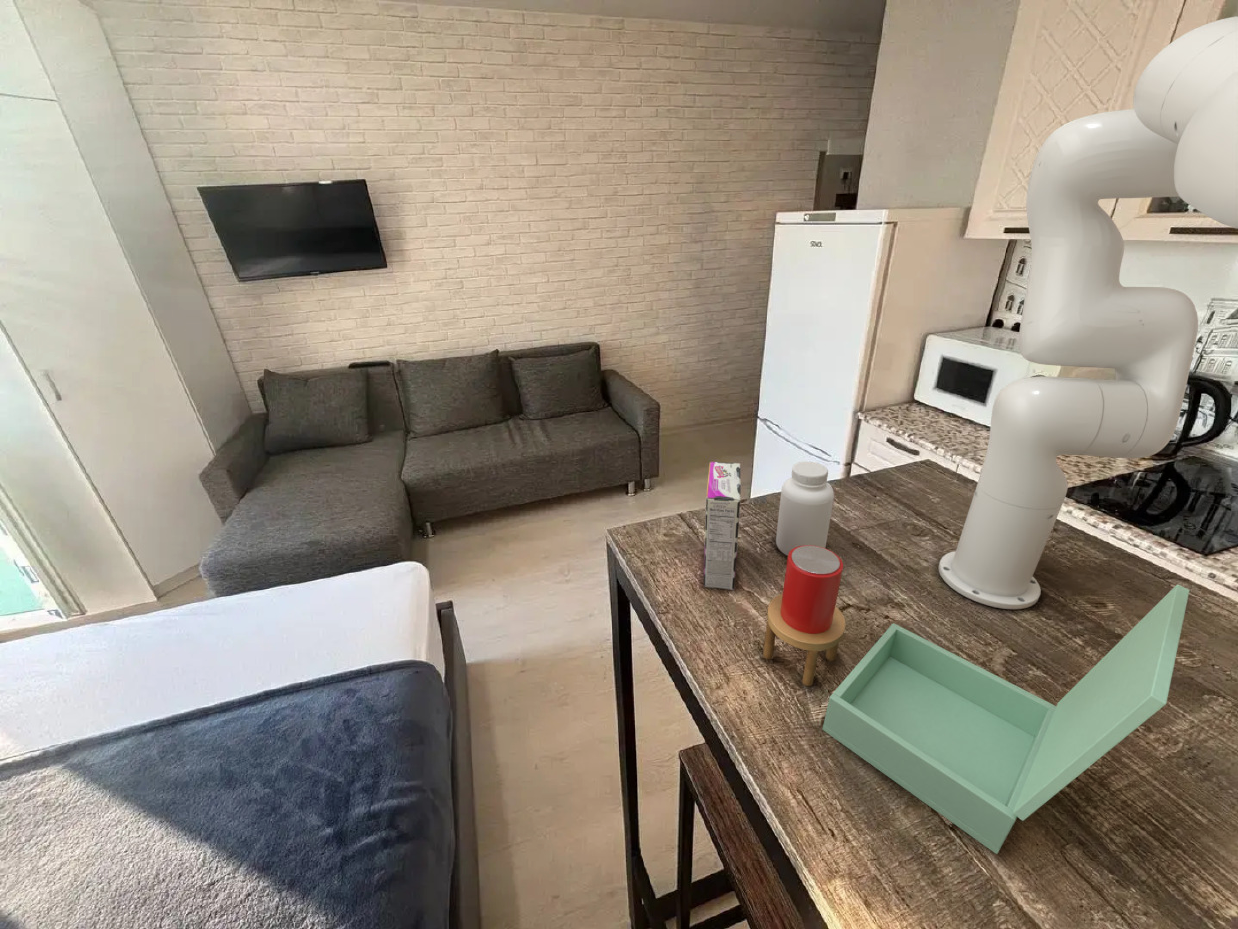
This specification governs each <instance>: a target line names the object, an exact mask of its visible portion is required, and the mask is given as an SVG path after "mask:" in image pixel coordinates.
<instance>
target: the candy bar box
mask: <svg viewBox="0 0 1238 929" xmlns="http://www.w3.org/2000/svg"><path fill="white" fill-rule="evenodd" d="M741 479H742V478H741V463H740V462H739V463H737V462H719V461H710V462H709V464H708V475H707V485H706V494H705V495H706V496H705V501H706V502H705V522H704V523H705V524H704V554H703V555H704V556H703V558H704V559H703V587H704V588H707V589H714V590H715V589H716V590H726V591H735V587H736V586H735V584H736V572H737V560H738V559H737V558H738V543H739V527H740V526H739V525H740V510H741V492H742V490H741V489H742V488H741V487H742V486H741V485H742V483H741Z"/></svg>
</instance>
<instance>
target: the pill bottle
mask: <svg viewBox="0 0 1238 929" xmlns="http://www.w3.org/2000/svg"><path fill="white" fill-rule="evenodd" d="M828 476H829V469H828V468H827V467H826V466H825V465H823V464H821V463H819V462H814V461H800V462H796V463H795V464H793V465H792V468H791V477H789V478H788V479H786V480H785V481H784V482H783V484H782V486H781V491H780V500H779V509H778V518H777V528H776V535H775V536H776V537H775V544H776V547H777V549H778V550H779V551H780V552H781V553H782V554H783V555H785V556H787V557H788V554H789V552H790V551H791V550H792V549H793V548H795V547H798V546H803V545H813V546H819V547H823V548H826V546H827V541H828V536H829V535H828V534H829V528H830V522H831V516H832V510H833V504H834V500H835V499H834V498H835V493H834V488H833V487H832V485H831V484H830V483H829V482H828Z"/></svg>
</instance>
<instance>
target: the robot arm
mask: <svg viewBox="0 0 1238 929" xmlns="http://www.w3.org/2000/svg"><path fill="white" fill-rule="evenodd" d="M1132 101H1133V108H1130V109H1129V108H1127V109H1118V110H1112V111H1104V112H1100V113H1094V114H1089V115H1085V116H1082V117H1079V118H1076V119H1074V120H1072V121H1069V122H1067V123H1065V124H1063V125H1061V126H1060V127H1058V128H1057V129H1055V130H1054V131H1053V132H1052V133H1050V135H1048V137H1047V138H1046V139H1045V141H1044V142H1043V143H1042V145H1041V147H1040V148H1039V150H1038V152H1037V154H1036V156H1035V159H1034V161H1033V165H1032V167H1031V170H1030V174H1029V178H1028V184H1027V188H1026V189H1027V190H1026V198H1025V199H1026V201H1025V205H1026V218H1027V225H1028V231H1029V237H1030V246H1031V247H1030V248H1031V255H1030V256H1031V257H1030V266H1029V271H1028V276H1027V281H1026V282H1027V283H1026V287H1025V288H1026V289H1025V294H1024V300H1023V307H1022V313H1021V319H1020V324H1019V325H1020V326H1019V332H1018V347H1019V352H1020V354H1021V356H1022V358H1024V359H1025V360H1026V361H1028V362H1030V363H1034V364H1038V365H1045V366H1056V367H1057V366H1060V367H1076V368H1077V367H1078V368H1098V369H1099V368H1100V369H1113V370H1114V372H1115V379H1107V378H1105V379H1103V378H1091V377H1072V376H1071V377H1070V376H1049V375H1047V376H1029V377H1023V378H1019V379H1016V380H1013V381H1011V382H1009V383H1007V384H1006V385H1005V386H1003V387H1002V388H1001V389H1000V390H999V391H998V393H997V395H996V397H995V399H994V401H993V405H992V410H991V418H990V429H989V436H988V443H987V449H986V453H985V456H984V461H983V464H982V468H981V470H980V474H979V477H978V480H977V483H976V487H975V490H974V493H973V496H972V500H971V502H970V506H969V509H968V511H967V515H966V518H965V522H964V525H963V527H962V531H961V534H960V537H959V540H958V544H957V546H956V550H954V551H950V552H948V553H946V554H944V555H943V556H942V557H941V558H940V560H939V564H938V573H939V576H940V577H941V578H942V580H943V581H944V583H946V584H947V585H948V586H949V587H950V588H951V589H952V590H954V591H955V592H956V593H958V594H960V595H962V596H963V597H965V598H967V599H969V600H972V601H974V602H977V603H978V604H982V605H985V606H989V607H991V608H998V609H1001V610H1002V609H1003V610H1022V609H1026V608H1030V607H1032V606H1034V605H1035V604H1036V603H1037V602H1038V601H1039V598H1040V596H1041V594H1042V593H1041V591H1042V588H1041V586H1040V584H1039V582H1038V581H1037V579H1036V578H1035V577H1034V574H1035V572H1036V569H1037V567H1038V564H1039V562H1040V559H1041V557H1042V555H1043V552H1044V550H1045V547H1046V544H1047V542H1048V540H1049V538H1050V535H1051V533H1052V531H1053V528H1054V526H1055V523H1056V521H1057V518H1058V516H1059V514H1060V511H1061V509H1062V507H1063V505H1064V501H1065V499H1066V497H1067V493H1068V489H1069V488H1068V487H1069V486H1068V484H1069V483H1068V479H1067V477H1066V474H1065V473H1064V471H1063V470H1062V468H1061V467H1060V465H1059V464H1058V462H1057V457H1058V456H1062V455H1063V456H1064V455H1065V456H1066V455H1067V456H1090V457H1102V458H1112V459H1113V458H1115V459H1129V460H1130V459H1143V458H1147V457H1151V456H1153V455H1156V454H1158V453H1159V452H1160V451H1162V450H1163V449H1164V448H1165V447H1166V446H1167V445H1168V444H1169V442H1170V441H1171V439H1172V437H1173V436H1174V433H1175V431H1176V428H1177V426H1178V423H1179V420H1180V416H1181V412H1182V407H1183V402H1184V397H1185V393H1186V389H1187V384H1188V380H1189V375H1190V370H1191V365H1192V361H1193V357H1194V352H1195V347H1196V342H1197V336H1198V329H1199V317H1198V316H1199V315H1198V311H1197V309H1196V306H1195V304H1194V302H1193V301H1192V299H1191V298H1190V297H1189V296H1188V295H1187V294H1186V293H1184V292H1182V291H1180V290H1178V289H1175V288H1169V287H1163V286H1123V285H1122V284H1121V281H1120V273H1121V267H1122V263H1123V258H1124V253H1125V242H1124V238H1123V236H1122V234H1121V231H1120V230H1119V228H1118V226H1117V225H1116V222H1114V220H1113V218H1112V217H1111V216H1110V215H1109V214H1108V213H1107V212H1106V211H1105V210H1104V209H1103V208H1102V207H1101V206H1100V205H1099V201H1101V200H1109V199H1146V198H1147V199H1148V198H1149V199H1150V198H1175V197H1177V198H1178V197H1179V198H1180V199H1181V200H1182V201H1183V202H1185V203H1186V204H1188V205H1189V206H1190V207H1192V208H1193V209H1195V210H1197V211H1199V212H1200V213H1201V214H1203V215H1205V216H1206V217H1208V218H1210V219H1211V220H1214V221H1215V222H1218V223H1220V224H1222V225H1225V226H1227V227H1231V228H1234V229H1237V230H1238V16H1236V15H1235V16H1232V17H1226V18H1221V19H1219V20H1215V21H1211V22H1208V23H1206V24H1203V25H1201V26H1198V27H1195V28H1193V29H1192V30H1189V31H1188V32H1185V33H1184V34H1183V35H1181V36H1180V37H1178V38H1176V39H1175V40H1173V41H1172V42H1170V43H1169V44H1168V45H1166V46H1165V47H1164V48H1162V49H1161V50H1160V51H1159V52H1158V53H1157V54H1156V55H1155V56H1154V57H1153V58H1152V59H1151V61H1150V62H1149V63H1148V64H1147V65H1146V67H1145V68H1144V69H1143V71H1142V72H1141V74H1140V76H1139V77H1138V80H1137V82H1136V84H1135V87H1134V91H1133V98H1132Z"/></svg>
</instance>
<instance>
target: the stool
mask: <svg viewBox="0 0 1238 929" xmlns="http://www.w3.org/2000/svg"><path fill="white" fill-rule="evenodd" d="M782 595H783V592H782V593H780V594H778V595H776V596H774V597H773V598H772V599H771V601H770V602H769V603H768V606H767V614H766V619H767V620H766V628H765V636H764V645H763V651H762V657H763V658H764V659H765V660H772V659H773V657H774V650H775V642H776V637H777V638H779V639H780V641H782V642H784V643H786V644H788V645H789V646H792V647H794V648H797V649H800V650H804V651H806V658H805V663H804V664H805V665H804V669H803V675H802V680H801V681H802V682H801V683H802V684H803V685H804V686H806V687H811V686H812V685H813V684H814V679H815V674H816V669H817V668H816V667H817V664H818V659H819V658H818V657H819V653H820V651H826V652H825V658H826V660H828V661H830V662H834V661H836V659H837V655H838V650H839V644H840V643H841V642H842V641H843V638H844V637H845V636H844V635H845V631H846V619H845V617H844V615H843V613H842V611H841V610H840V609H839V608H838V607H837V606H836V605H835V610H834V615H833V620H832V625H831V627H830V628H829V629H828V630H826V631H825V632H822V633H818V634H808V633H803V632H800V631H797V630H795V629H793V628H792V627H790V626H789V625H788V624H786V623H785V621H784V620H783V618H782V616H781V613H780V610H781V602H782Z"/></svg>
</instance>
